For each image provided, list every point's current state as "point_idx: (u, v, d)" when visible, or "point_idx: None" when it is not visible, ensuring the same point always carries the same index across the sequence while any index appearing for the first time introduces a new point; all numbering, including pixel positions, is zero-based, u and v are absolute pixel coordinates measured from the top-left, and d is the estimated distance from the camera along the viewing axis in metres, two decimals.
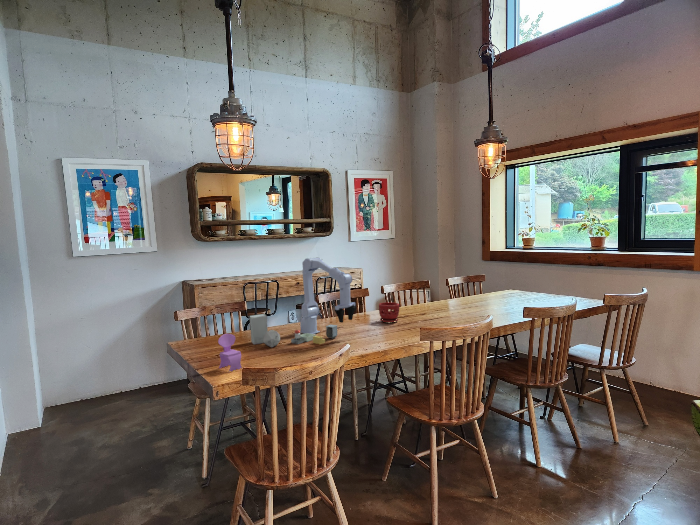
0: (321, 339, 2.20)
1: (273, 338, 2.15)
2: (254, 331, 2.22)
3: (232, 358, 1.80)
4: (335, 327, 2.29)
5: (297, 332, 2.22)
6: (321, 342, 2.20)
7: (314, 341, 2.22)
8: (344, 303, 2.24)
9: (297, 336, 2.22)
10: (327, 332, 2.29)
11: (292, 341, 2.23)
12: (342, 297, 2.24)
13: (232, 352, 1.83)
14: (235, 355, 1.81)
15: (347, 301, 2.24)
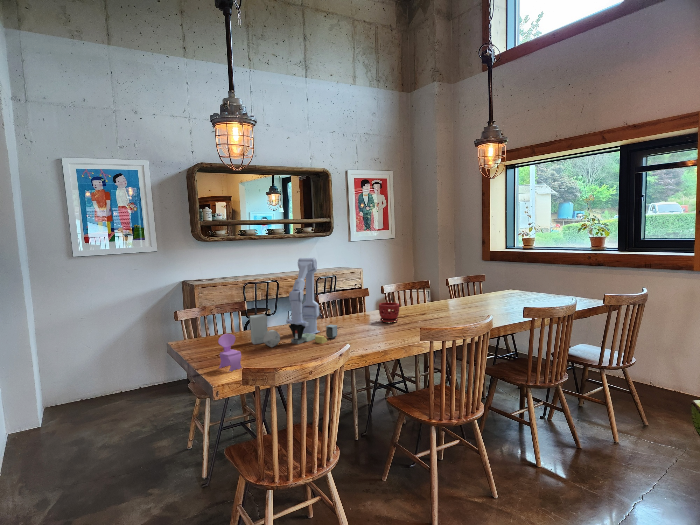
0: (323, 338, 2.21)
1: (273, 338, 2.14)
2: (254, 331, 2.22)
3: (232, 358, 1.80)
4: (335, 327, 2.29)
5: None
6: (323, 341, 2.21)
7: (316, 340, 2.23)
8: None
9: (297, 336, 2.22)
10: (327, 332, 2.29)
11: (292, 341, 2.23)
12: None
13: (232, 352, 1.83)
14: (235, 355, 1.81)
15: (292, 318, 2.22)
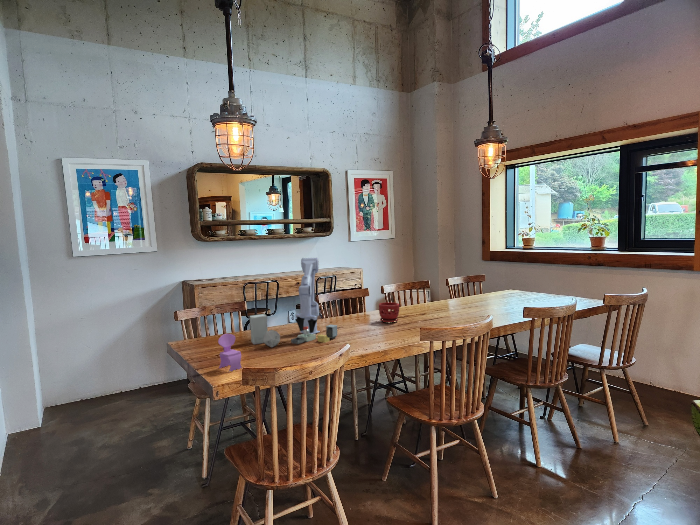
0: (325, 337, 2.23)
1: (273, 338, 2.14)
2: (254, 331, 2.22)
3: (232, 358, 1.80)
4: (335, 327, 2.29)
5: (305, 328, 2.28)
6: (325, 340, 2.23)
7: (319, 340, 2.25)
8: None
9: (305, 332, 2.28)
10: (327, 332, 2.29)
11: (292, 341, 2.23)
12: None
13: (232, 352, 1.83)
14: (235, 355, 1.81)
15: (301, 312, 2.27)
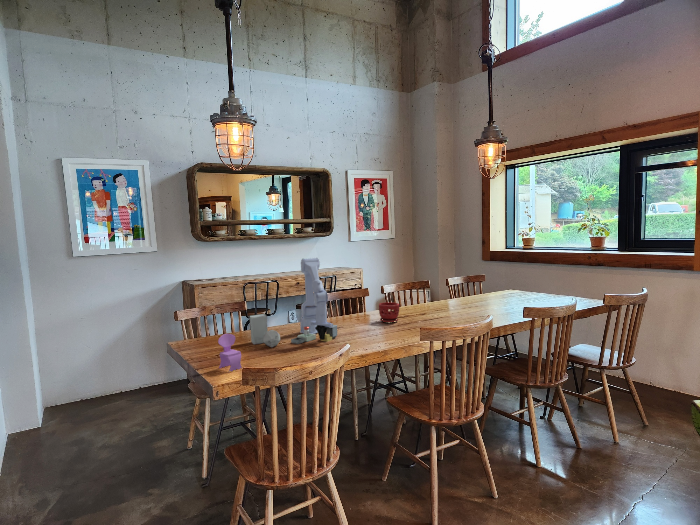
0: (328, 336, 2.25)
1: (273, 338, 2.15)
2: (254, 331, 2.22)
3: (232, 358, 1.80)
4: (335, 327, 2.29)
5: (306, 328, 2.28)
6: (328, 339, 2.25)
7: None
8: None
9: (306, 332, 2.28)
10: (327, 332, 2.29)
11: (292, 341, 2.23)
12: None
13: (232, 352, 1.83)
14: (235, 355, 1.81)
15: (316, 319, 2.22)
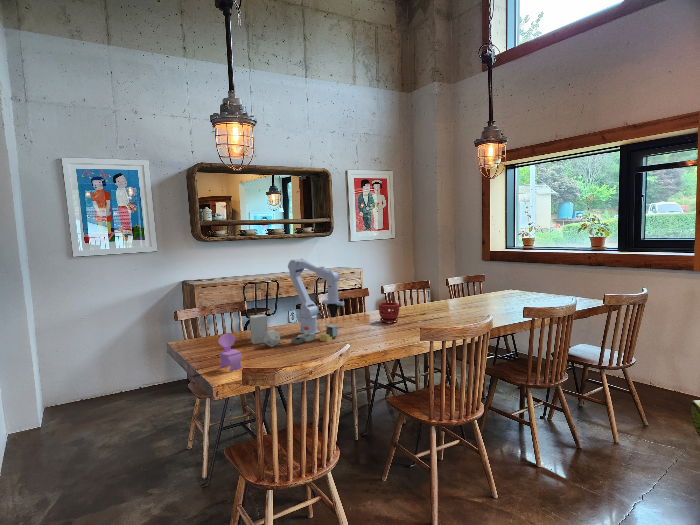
0: (328, 337, 2.25)
1: (273, 338, 2.14)
2: (254, 331, 2.22)
3: (232, 358, 1.80)
4: (335, 327, 2.29)
5: (306, 328, 2.28)
6: (328, 340, 2.25)
7: (321, 339, 2.26)
8: (328, 299, 2.36)
9: (306, 332, 2.28)
10: (327, 332, 2.29)
11: (292, 341, 2.23)
12: None
13: (232, 352, 1.83)
14: (235, 355, 1.81)
15: (328, 298, 2.34)
